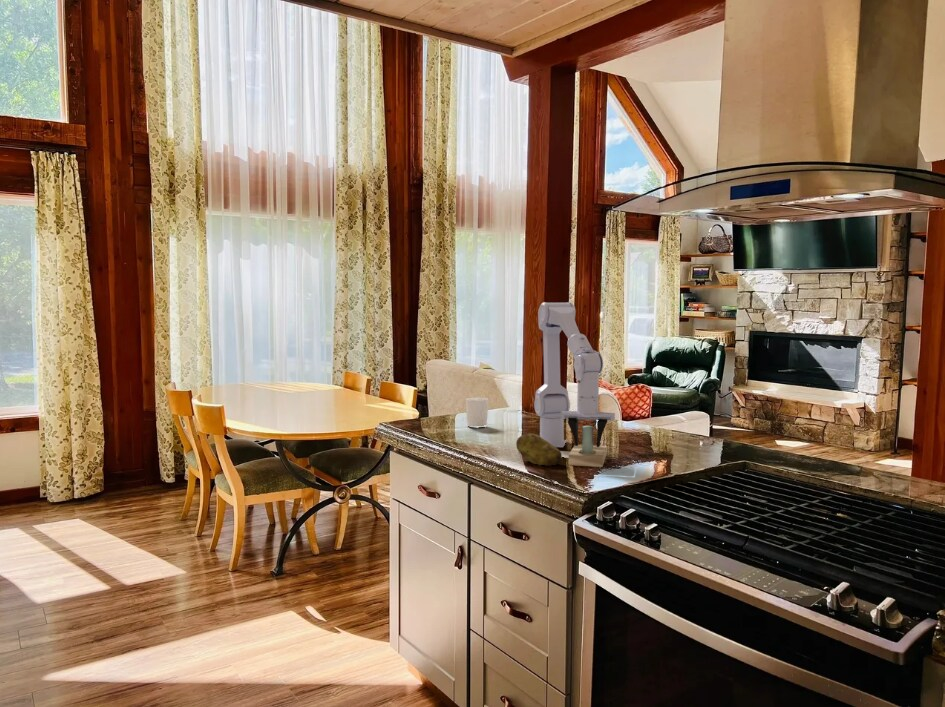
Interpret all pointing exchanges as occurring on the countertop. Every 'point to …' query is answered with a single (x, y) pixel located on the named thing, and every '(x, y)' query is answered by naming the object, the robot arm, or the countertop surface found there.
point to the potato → (538, 450)
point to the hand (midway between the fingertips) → (587, 445)
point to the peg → (587, 439)
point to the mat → (565, 454)
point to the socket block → (587, 456)
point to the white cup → (477, 411)
